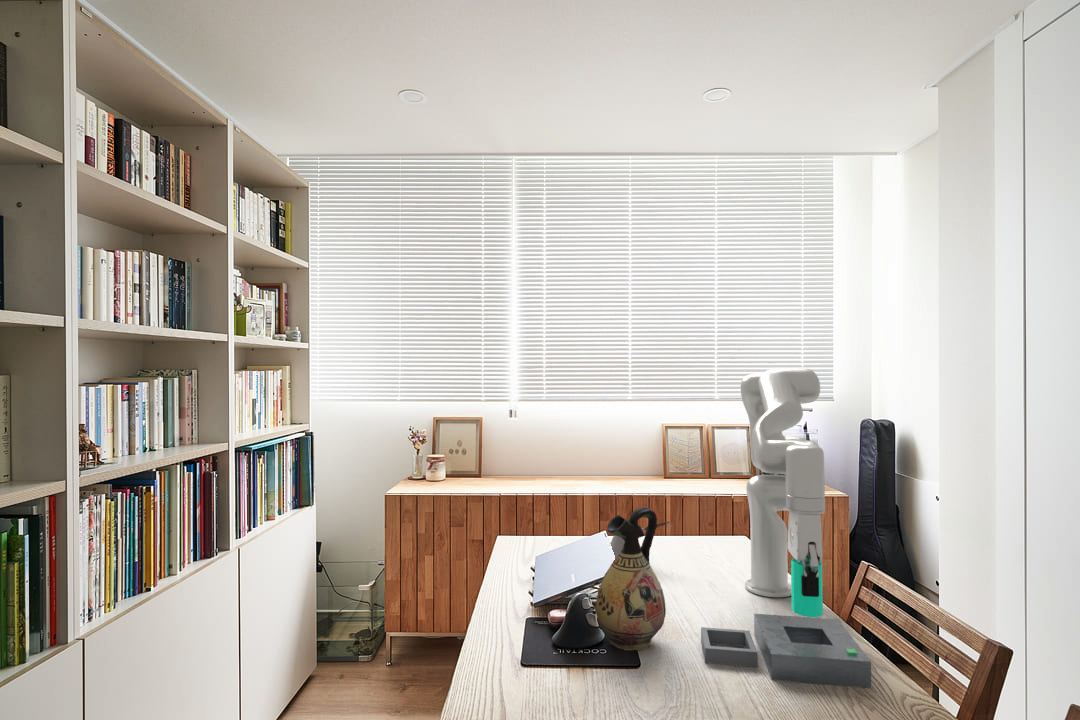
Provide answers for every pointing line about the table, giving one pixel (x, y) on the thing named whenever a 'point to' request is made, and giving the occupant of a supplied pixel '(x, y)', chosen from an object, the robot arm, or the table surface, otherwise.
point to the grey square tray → (726, 653)
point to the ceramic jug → (631, 587)
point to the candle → (799, 602)
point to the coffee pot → (619, 542)
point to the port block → (811, 651)
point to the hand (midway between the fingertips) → (806, 589)
